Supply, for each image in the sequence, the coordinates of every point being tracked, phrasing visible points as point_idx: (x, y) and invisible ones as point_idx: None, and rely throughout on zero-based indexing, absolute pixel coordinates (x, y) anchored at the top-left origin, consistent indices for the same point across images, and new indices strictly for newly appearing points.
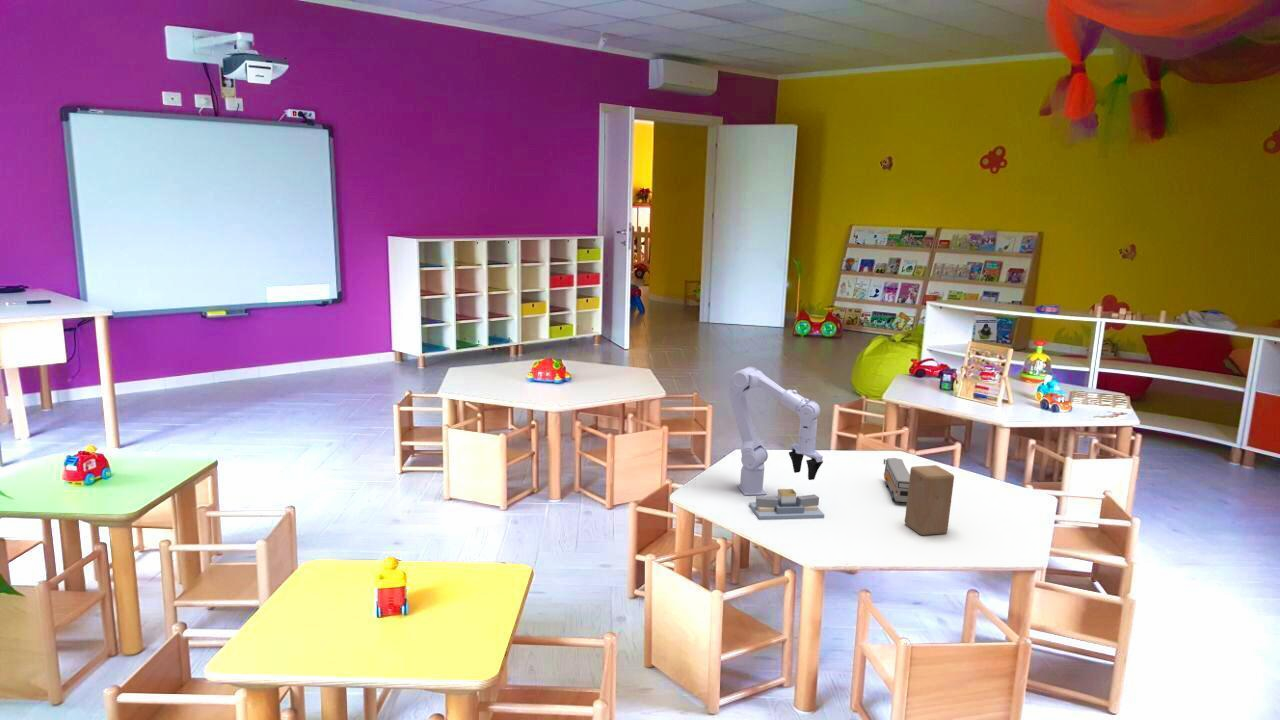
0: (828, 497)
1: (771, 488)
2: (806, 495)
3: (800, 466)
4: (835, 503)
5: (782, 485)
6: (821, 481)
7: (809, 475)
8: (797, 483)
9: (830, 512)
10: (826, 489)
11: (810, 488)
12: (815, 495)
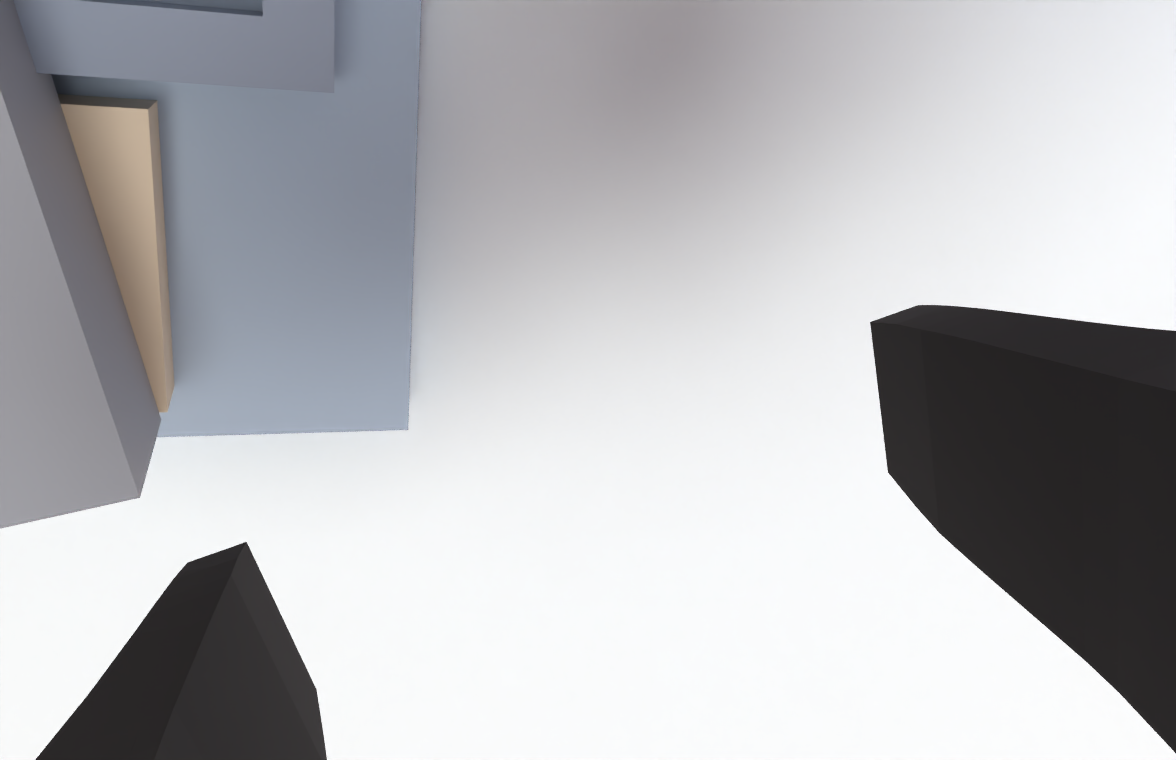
0: (619, 706)
1: (1120, 7)
2: (63, 291)
3: (1004, 569)
4: (397, 744)
5: (1151, 234)
6: (1080, 741)
7: (128, 647)
8: None
9: (17, 597)
10: (862, 741)
11: (945, 570)
12: (67, 500)
